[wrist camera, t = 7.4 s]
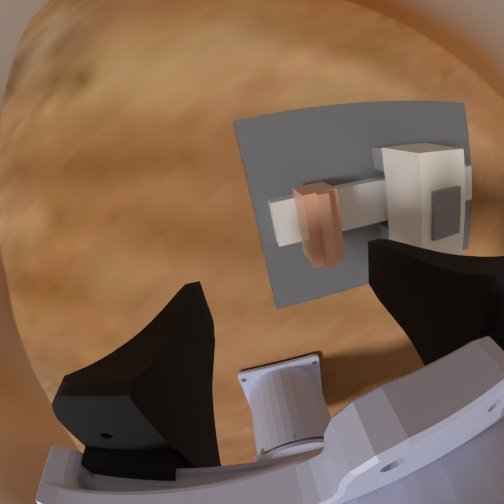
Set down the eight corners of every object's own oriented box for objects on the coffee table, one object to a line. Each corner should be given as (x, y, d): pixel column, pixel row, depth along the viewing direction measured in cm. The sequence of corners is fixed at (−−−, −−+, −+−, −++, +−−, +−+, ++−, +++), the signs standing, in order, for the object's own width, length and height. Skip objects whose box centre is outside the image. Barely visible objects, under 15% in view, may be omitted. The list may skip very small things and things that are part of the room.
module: (418, 232, 20) (463, 260, 15) (380, 243, 20) (422, 277, 15) (413, 141, 17) (466, 149, 12) (371, 146, 17) (421, 153, 12)
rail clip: (331, 245, 19) (348, 263, 16) (303, 252, 19) (316, 272, 16) (322, 181, 17) (341, 190, 14) (292, 187, 17) (305, 198, 14)
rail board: (460, 244, 23) (479, 255, 20) (274, 300, 23) (281, 322, 20) (455, 103, 17) (477, 103, 14) (233, 122, 17) (234, 119, 14)
